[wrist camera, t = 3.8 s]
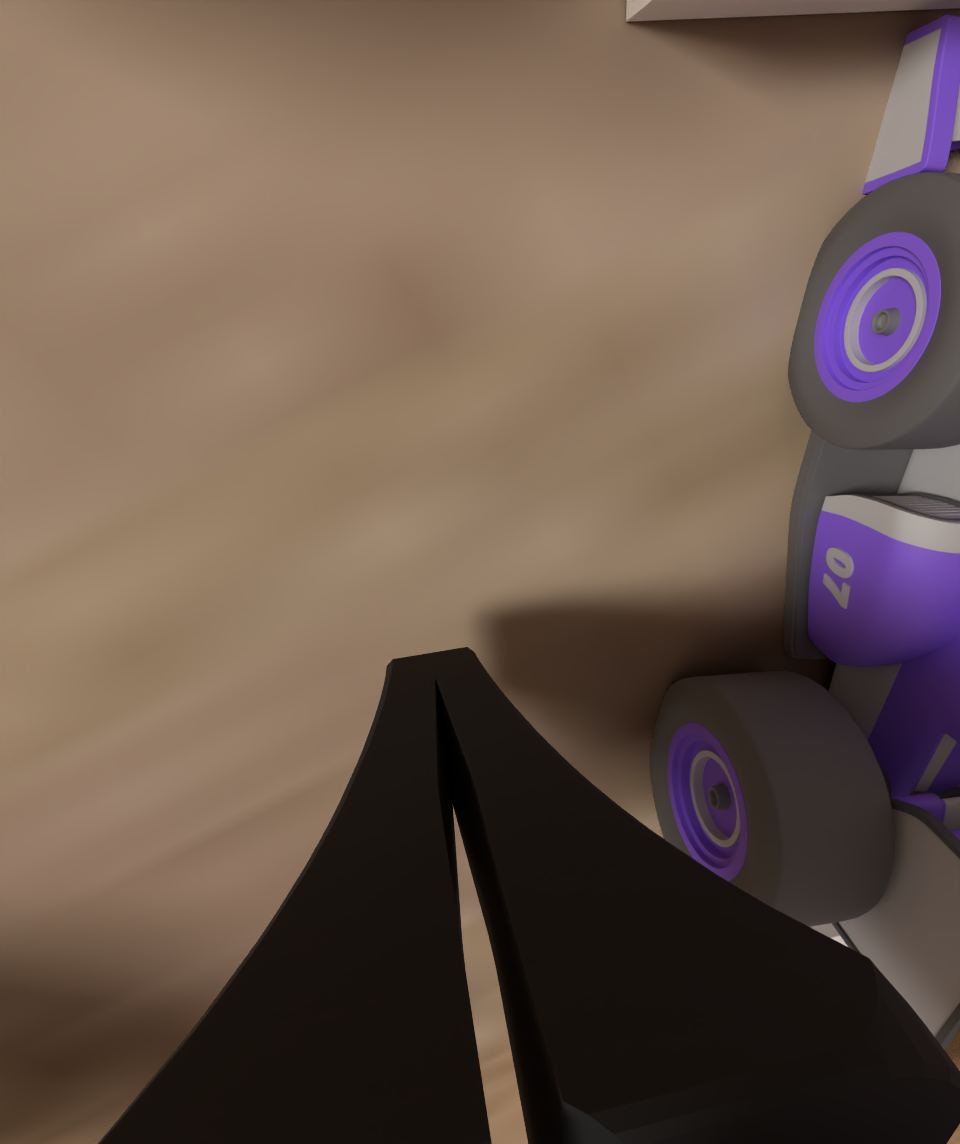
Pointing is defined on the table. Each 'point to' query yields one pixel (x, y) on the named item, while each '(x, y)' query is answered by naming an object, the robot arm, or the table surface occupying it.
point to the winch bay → (699, 3)
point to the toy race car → (859, 590)
